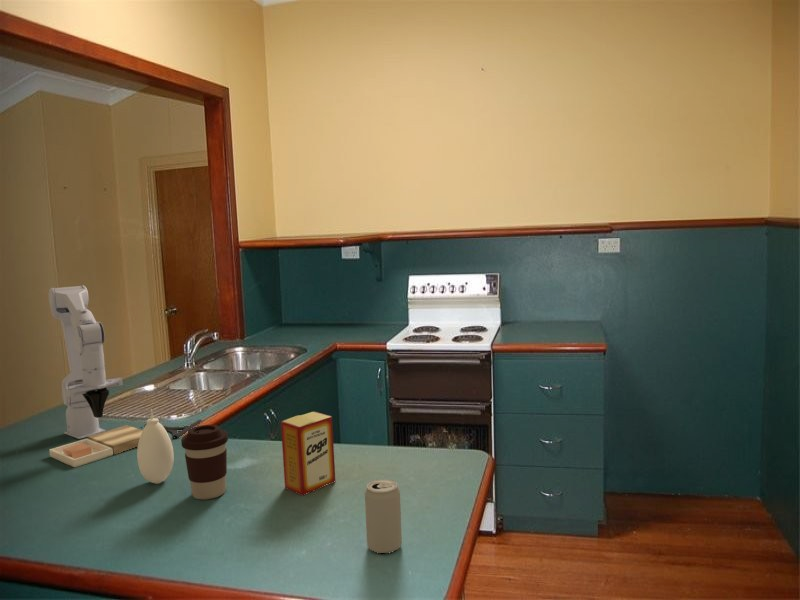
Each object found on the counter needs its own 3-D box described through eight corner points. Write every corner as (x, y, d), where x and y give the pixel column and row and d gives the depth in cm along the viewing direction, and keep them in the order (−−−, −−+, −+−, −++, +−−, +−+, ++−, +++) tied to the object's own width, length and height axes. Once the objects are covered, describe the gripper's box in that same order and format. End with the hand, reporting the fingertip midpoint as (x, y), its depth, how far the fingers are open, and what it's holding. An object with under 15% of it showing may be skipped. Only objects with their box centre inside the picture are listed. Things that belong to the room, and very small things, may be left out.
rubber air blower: (163, 489, 146) (156, 413, 144) (133, 488, 148) (126, 413, 145) (181, 476, 154) (175, 403, 151) (152, 474, 155) (146, 403, 153)
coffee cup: (240, 486, 146) (235, 423, 144) (214, 505, 137) (209, 438, 135) (204, 482, 149) (199, 420, 148) (176, 500, 140) (170, 434, 138)
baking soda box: (317, 474, 151) (313, 409, 149) (335, 481, 147) (331, 414, 145) (285, 488, 145) (280, 420, 143) (302, 495, 140) (298, 425, 138)
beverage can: (366, 540, 120) (363, 479, 118) (400, 537, 120) (398, 476, 119) (367, 557, 113) (364, 493, 112) (403, 554, 114) (401, 490, 112)
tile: (82, 443, 173) (82, 451, 173) (63, 448, 169) (63, 456, 169) (91, 446, 169) (91, 454, 170) (71, 452, 166) (72, 460, 166)
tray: (50, 456, 170) (49, 449, 170) (88, 445, 178) (87, 438, 178) (74, 467, 162) (73, 460, 162) (113, 455, 170) (112, 448, 170)
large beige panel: (89, 445, 179) (88, 436, 178) (127, 433, 188) (127, 425, 187) (114, 454, 170) (113, 445, 170) (153, 442, 179) (153, 433, 179)
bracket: (158, 423, 198) (158, 415, 198) (202, 424, 195) (202, 415, 195) (131, 439, 184) (130, 430, 184) (178, 441, 181) (177, 431, 181)
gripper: (72, 375, 163) (78, 426, 165) (126, 364, 175) (131, 412, 176) (60, 372, 168) (65, 422, 169) (113, 361, 179) (118, 408, 181)
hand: (98, 416), depth 173 cm, fingers closed
